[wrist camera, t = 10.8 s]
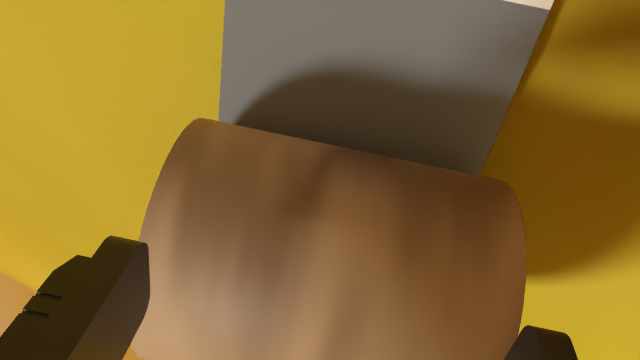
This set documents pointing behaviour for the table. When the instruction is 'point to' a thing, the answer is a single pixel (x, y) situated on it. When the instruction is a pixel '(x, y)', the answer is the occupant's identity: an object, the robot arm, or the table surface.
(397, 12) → the grey rectangular panel
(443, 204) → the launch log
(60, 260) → the table surface
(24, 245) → the table surface
